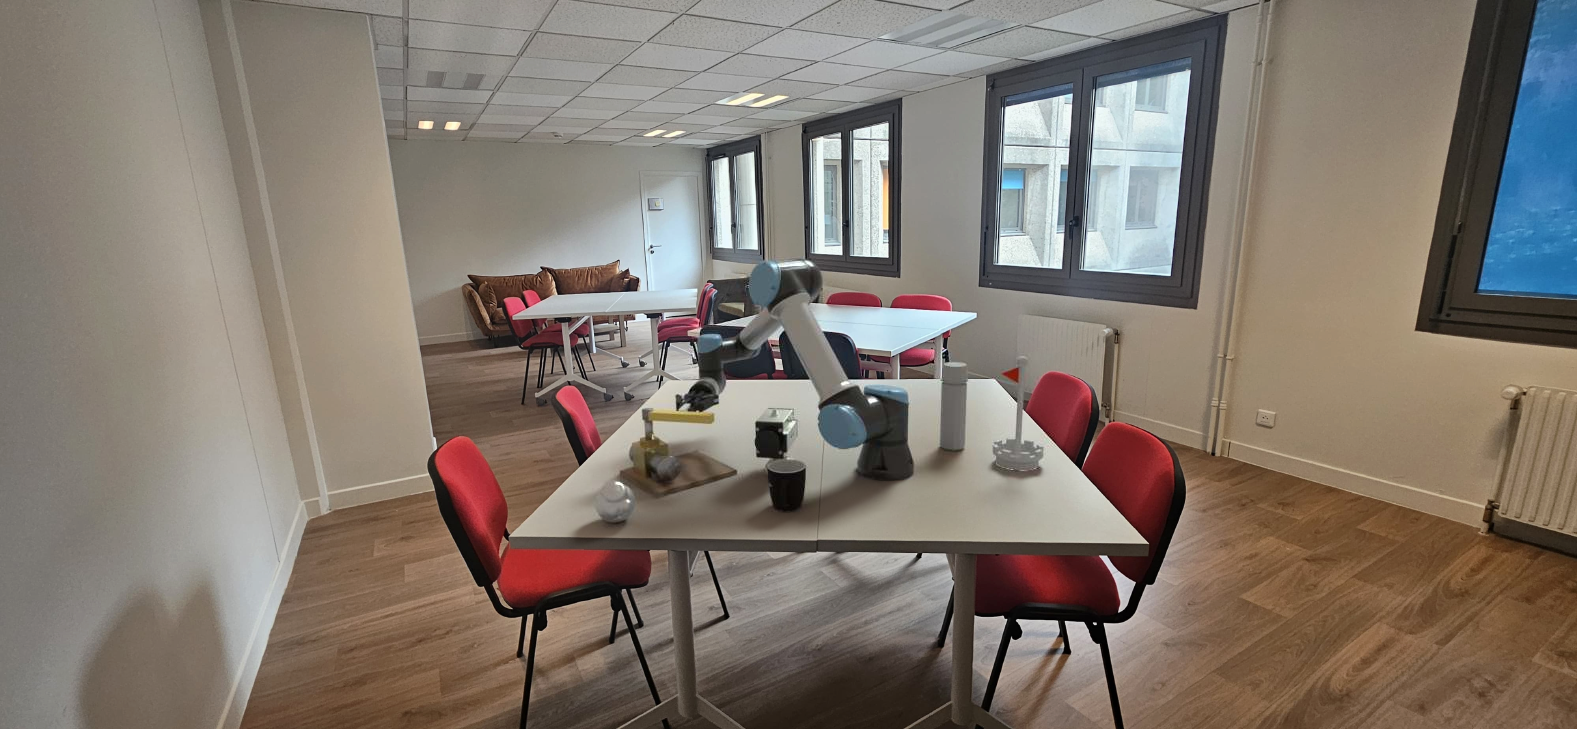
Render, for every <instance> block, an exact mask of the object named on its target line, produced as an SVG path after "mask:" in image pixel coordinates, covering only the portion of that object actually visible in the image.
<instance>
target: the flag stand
mask: <svg viewBox="0 0 1577 729" xmlns="http://www.w3.org/2000/svg"><path fill="white" fill-rule="evenodd" d="M1016 365H1017V367H1015V368H1013V369H1010V370H1007V371H1005V372H1002V373H1001V375H1003V376H1005V377H1007V378H1008V379H1010V380H1012V381H1014V382H1015V383H1017V399H1016V400H1017V402H1016V418H1015V419H1016V420H1015V421H1016V422H1015V437H1007V438H1006V441H1005V442H1004V441H1003V440H1002V439H995V440H994V442H993V444H992V454H993V455H994V457H995V464H996V463H997V464H998V465H1000V466H1001V467H1004V468H1009V469H1013V470H1030V469H1034V468H1036V467H1038V468H1039V466H1038V465H1039V464H1040V462H1039V461H1040V460H1042V459H1043V457H1044V445H1043V444H1041V443H1037V444H1036V445H1035V441H1034V440H1031V439H1026V438H1025V439H1024V440H1023V442H1022V432H1023V431H1022V430H1023V415H1024V414H1023V413H1024V396H1025V394H1024V393H1025V391H1024V390H1025V377H1026V367H1027V366H1028V365H1029V360H1028V358H1027V357H1026V356H1022V355H1021V356H1019V357H1018V358H1017V359H1016ZM997 464H996V465H997ZM998 465H997V466H998ZM1001 467H1000V468H1001ZM1004 468H1003V469H1004Z"/></svg>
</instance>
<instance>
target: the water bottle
mask: <svg viewBox="0 0 1577 729" xmlns="http://www.w3.org/2000/svg"><path fill="white" fill-rule="evenodd" d="M968 377H969V376H968V364H967V363H965V362H959V361H958V362H956V361H955V362H954V361H950V362H944V363H943V368H942V375H941V379H939V380H940V381H941V388H940V389H941V390H940V391H941V392H940V394H941V395H940V397H941V398H940V430H939V445H940V447H941V448H942V449H944V450H947V451H952V452H953V451H954V452H955V451H961V450H963V449H964V448H965V447H966V428H967V427H966V426H967V425H966V423H967V422H966V421H967V420H966V418H967V398H968V397H967V393H968V391H967V390H968V383H967V382H969V378H968Z"/></svg>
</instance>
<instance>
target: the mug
mask: <svg viewBox="0 0 1577 729" xmlns="http://www.w3.org/2000/svg"><path fill="white" fill-rule="evenodd" d="M806 474H807V467H806V463H805V462H803V461H801V460H798V459H794V460H792V459H783V460H777V461H774V462H771V463H770V464H769V465H768V475H767V481H768V482H767V483H768V490H769V496H770V499H771V503H772V506H773V508H774V509H775V510H777V511H779V512H786V511H789V512H794V511H797V510H799V509H800V508H801V506H802V505H803V502H804V498H805V492H806V478H807V476H806Z"/></svg>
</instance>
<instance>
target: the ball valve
mask: <svg viewBox="0 0 1577 729" xmlns="http://www.w3.org/2000/svg"><path fill="white" fill-rule="evenodd" d="M754 426H755V428H754V429H755V432H754V433H755V438H754V446H755V456H756V458H761V459H768V461H767V462H766V463H765V466H764V471H765V473H766V475H767V476H768V465H769V464H770V463H771V462H774V461H777V460H783V459H792V460H795V459H794V458H793V457H790V456H786V455H787V454H788V453H789V451H790V449H791V447H792V446H793V444H794V443H795V441H796V439H797V437H798V435H799V434H798V419H796V418H795V411H794V408H785V407H784V408H782V407H781V408H780V407H779V408H778V407H776V408H775V407H768V408H767V409H766V410H765V411H764V412H763V413H762V414H761V416H759V417H758V419H757V420H755V422H754Z"/></svg>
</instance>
